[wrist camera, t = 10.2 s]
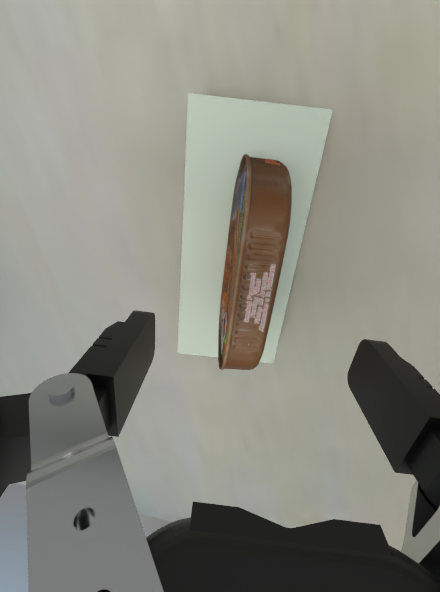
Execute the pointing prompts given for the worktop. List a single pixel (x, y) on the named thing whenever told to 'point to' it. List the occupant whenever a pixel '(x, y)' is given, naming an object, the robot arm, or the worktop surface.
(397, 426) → the robot arm
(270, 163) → the tin
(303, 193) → the plinth
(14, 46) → the worktop surface
